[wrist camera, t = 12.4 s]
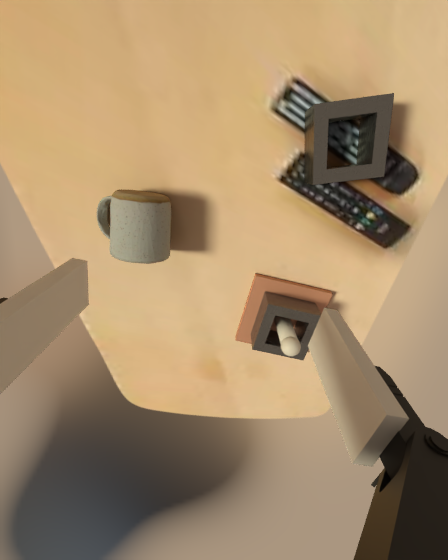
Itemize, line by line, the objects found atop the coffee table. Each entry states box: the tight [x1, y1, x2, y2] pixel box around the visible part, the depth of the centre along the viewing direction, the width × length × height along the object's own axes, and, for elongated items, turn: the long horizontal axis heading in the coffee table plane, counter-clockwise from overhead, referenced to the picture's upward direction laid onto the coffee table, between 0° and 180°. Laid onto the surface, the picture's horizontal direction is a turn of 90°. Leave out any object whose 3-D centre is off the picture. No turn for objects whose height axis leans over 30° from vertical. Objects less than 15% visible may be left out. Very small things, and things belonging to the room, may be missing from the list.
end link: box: [251, 291, 322, 360], centre depth 39 cm, size 8×8×4 cm
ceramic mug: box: [97, 190, 171, 264], centre depth 33 cm, size 11×8×8 cm
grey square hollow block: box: [304, 93, 394, 185], centre depth 30 cm, size 8×8×4 cm
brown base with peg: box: [236, 273, 332, 356], centre depth 38 cm, size 12×12×9 cm
